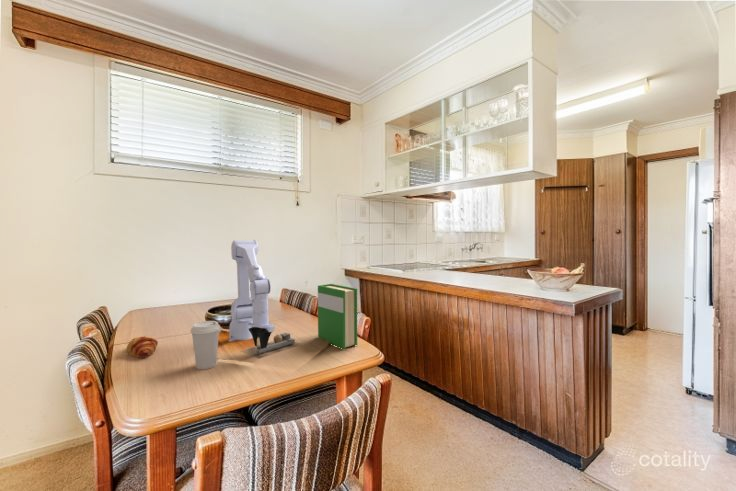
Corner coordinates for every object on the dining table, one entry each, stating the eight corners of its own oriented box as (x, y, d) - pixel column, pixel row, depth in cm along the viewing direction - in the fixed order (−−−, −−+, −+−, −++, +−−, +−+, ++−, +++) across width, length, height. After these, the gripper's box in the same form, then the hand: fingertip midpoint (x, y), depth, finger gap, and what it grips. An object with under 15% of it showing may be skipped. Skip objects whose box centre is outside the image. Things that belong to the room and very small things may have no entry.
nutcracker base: (283, 340, 143) (283, 331, 143) (301, 346, 135) (301, 336, 135) (241, 354, 127) (241, 343, 127) (258, 361, 120) (258, 350, 120)
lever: (291, 342, 136) (291, 327, 136) (294, 344, 135) (294, 328, 135) (255, 353, 124) (255, 337, 124) (258, 354, 123) (258, 338, 123)
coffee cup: (201, 373, 110) (200, 329, 109) (185, 367, 115) (184, 325, 114) (226, 363, 118) (226, 322, 117) (211, 358, 123) (210, 319, 122)
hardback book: (357, 345, 136) (357, 288, 135) (343, 350, 131) (343, 290, 130) (331, 336, 149) (331, 283, 148) (318, 339, 144) (317, 285, 143)
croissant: (129, 355, 136) (118, 340, 133) (154, 339, 142) (143, 324, 139) (138, 370, 120) (125, 353, 117) (166, 351, 126) (154, 335, 123)
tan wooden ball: (271, 344, 135) (271, 335, 135) (276, 341, 138) (276, 333, 138) (279, 345, 134) (279, 336, 134) (284, 342, 137) (284, 333, 137)
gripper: (240, 310, 125) (240, 345, 125) (262, 316, 116) (262, 354, 116) (256, 307, 130) (257, 340, 131) (278, 312, 121) (279, 348, 122)
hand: (260, 346), depth 124 cm, fingers open, 3 cm apart
